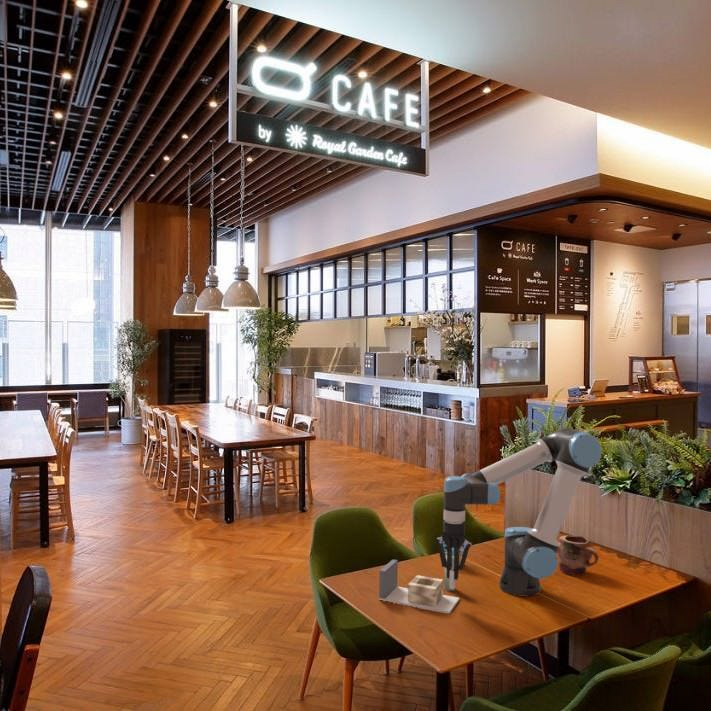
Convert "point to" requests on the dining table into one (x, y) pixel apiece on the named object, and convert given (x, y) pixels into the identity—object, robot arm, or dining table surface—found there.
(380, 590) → the backstop
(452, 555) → the orange ringed tube
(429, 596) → the block
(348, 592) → the dining table surface
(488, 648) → the dining table surface
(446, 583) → the dowel
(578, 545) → the brown ceramic mug
